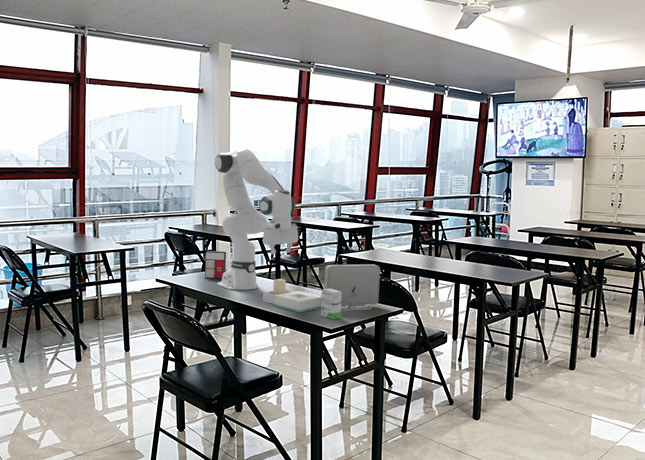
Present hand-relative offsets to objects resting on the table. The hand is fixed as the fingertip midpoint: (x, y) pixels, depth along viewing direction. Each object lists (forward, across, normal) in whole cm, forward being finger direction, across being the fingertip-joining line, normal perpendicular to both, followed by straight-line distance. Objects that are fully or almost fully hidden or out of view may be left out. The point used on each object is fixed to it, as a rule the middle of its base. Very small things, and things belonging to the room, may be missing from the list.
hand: (280, 253), depth 282 cm
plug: (+23, 0, 0) cm, 23 cm away
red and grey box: (+23, -12, -64) cm, 69 cm away
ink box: (+23, +5, +37) cm, 44 cm away
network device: (+23, -15, +32) cm, 42 cm away
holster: (+23, 0, 0) cm, 23 cm away
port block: (+23, +2, +15) cm, 27 cm away
